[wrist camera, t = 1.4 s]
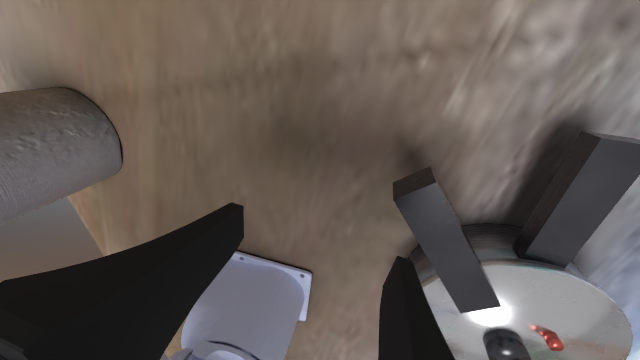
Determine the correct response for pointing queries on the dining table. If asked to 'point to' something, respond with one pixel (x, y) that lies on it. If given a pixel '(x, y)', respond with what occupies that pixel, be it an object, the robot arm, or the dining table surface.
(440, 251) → the lid
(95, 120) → the pillar candle
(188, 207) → the dining table surface
